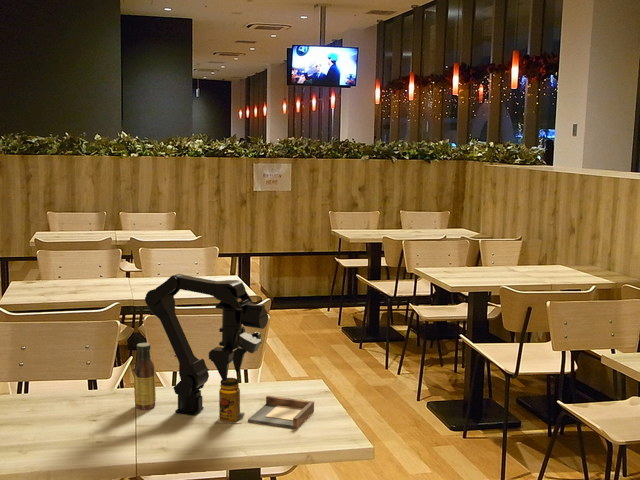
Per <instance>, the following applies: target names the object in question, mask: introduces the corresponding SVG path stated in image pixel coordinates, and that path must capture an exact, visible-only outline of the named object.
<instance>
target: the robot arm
mask: <svg viewBox="0 0 640 480" xmlns="http://www.w3.org/2000/svg"><path fill="white" fill-rule="evenodd" d="M181 290H182V291H188V292H192V293H198V294H203V295H207V296H211V297H214V299H216V300H218V301H219V303H218V304H216V305H215V309H220V310H222V313H221V314H222V316H221V327H220V328H219V329H218V330H219V331H218V332H219V333H221V341H219V342H218V346H216V347H214V348H212V349H211V350H210V351H208V360H210V361H211V362H212V363H213V364H214V366H215V368H216V370H217V372H218V374H219V376H220V378H221V380H223V381H226V380H227V378H228V374H229V368H230V364H231V362H233V363H232V364H233V368H234V370H235V372H236V373H240V371H241V367H242V364H243V361H244V358H245V354H246V353H247V352H248V353H250V354H254V353H255V352H256V351H258V349H259V348H260V345H261V344H262V341H263V340H262V336H261V333H260V332H259V331H255V332H253V333H247V332H246V328H245V327H247V328H255V329H265V328H266V326H267V325H268V320H269V314H268V311H267V309H266V305H265V304H263V303H258V304H256V303H254V302H253V300H252V298H251V297H250V295H249V294H248V292H247V290H246V286H245V285H244V283H243V282H242V281H241V280H238V279H226V280H212V279H206V278H201V277H196V276H191V275H185V274H183V273H177V274H174V275H171V276H170V277H169V278H167V279H166V280H165V281H164V282H163V283H161V284H160V285H158V286H157V287H156V288H153V289H150V290H148V291H147V292H146V294H145V297H144V302H145V305H146V306H147V308H148V309H149V311H150V312H151V313H152V314H153V315H154V316H155V317H156V318H158V319H159V321H160V323H161V325H162V328H163V329H164V332H165V334H166V337H167V339H168V341H169V344H170V346H171V348H172V349H173V352H174V354H175V357H176V358H177V361H178V375H179V379H180V381H179V382H178V383H177V384H175V385H174V386H173V390H174V394H175V395H177V409H176V410H175V411H174V412H175V413H177V414H183V415H191V416H195V415H197V414H199V412H201V411H202V410H203V409H205V408H204V406H203V395H202V390H201V389H203V388H204V386H205V384H206V383H207V382H208V380H209V378H210V375H209V371H210V369H209V368H208V367H207V364H206V361H205V359H204V358H203V357H202V358H201V359H199V358H197V357H196V356H195V355H194V353H193V350H192V347H191V345H190V344H189V343H190V342H189V340H188V339H187V336H186V334H185V332H184V330H183V327H182V325H181V322H180V321H179V319H178V316H177V314H176V300H175V295H177V294H178V293H179V292H180V291H181Z"/></svg>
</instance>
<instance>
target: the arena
mask: <svg viewBox="0 0 640 480" xmlns="http://www.w3.org/2000/svg"><path fill="white" fill-rule="evenodd" d="M314 412H315V401H311V400H304V399H296V398H289V397H283V396H281V397H280V396H274V395H266V398H265V404H264V405H262V407H260V408H259V409H257V411H255V413H253V414H252V415H251V416H250V417H248V419H247V422H248V423H254V424H259V425H261V424H262V425H268V426H273V427H275V426H276V427H282V428H289V429H294V430H295V429H296V430H298V429H299V428H300V426H302V424H303V423H304V422H305V421H306V420H308V418H309V417H310V416H311V415H312V414H313V413H314Z"/></svg>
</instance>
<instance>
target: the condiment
mask: <svg viewBox="0 0 640 480" xmlns="http://www.w3.org/2000/svg"><path fill="white" fill-rule="evenodd" d="M239 383H240V382H239V379H238V378H235V377H227V380H226V381H223V380H222V379H221V380H220V385H219V386H220V388H219V391H218V395H219V396H218V397H219V400H218V401H219V403H218V406H219V408H218V409H219V410H218V411H219V412H218V413H219V415H218V418H216V419H217V420H216V422H215V423H217V424H218V423H219V424H241V423H242V421H243V419H244V416H245V413H246V412H241V389H240V388H239Z"/></svg>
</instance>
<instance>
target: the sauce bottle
mask: <svg viewBox="0 0 640 480" xmlns="http://www.w3.org/2000/svg"><path fill="white" fill-rule="evenodd" d="M136 350H137V359H136V360H135V361H136V362H135V366H134V369H133V388H134V389H133V390H134V392H133V394H134V405H135V408H136V409H139V410H151V409H154V408H155V407H156V399H157V398H156V397H157V396H156V395H157V394H156V372H155V364H154V362H153V360H152V359H151V343H150V342H141V343H137V344H136Z"/></svg>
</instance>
